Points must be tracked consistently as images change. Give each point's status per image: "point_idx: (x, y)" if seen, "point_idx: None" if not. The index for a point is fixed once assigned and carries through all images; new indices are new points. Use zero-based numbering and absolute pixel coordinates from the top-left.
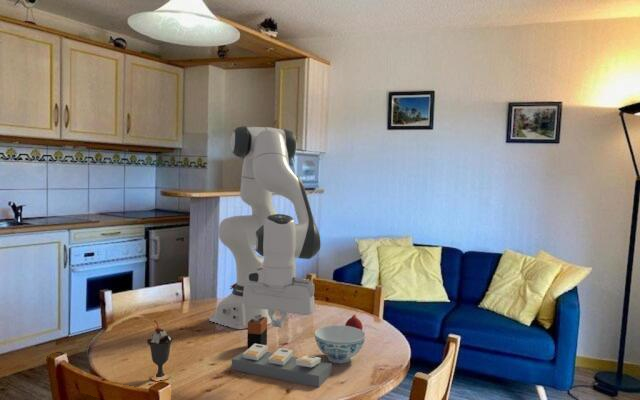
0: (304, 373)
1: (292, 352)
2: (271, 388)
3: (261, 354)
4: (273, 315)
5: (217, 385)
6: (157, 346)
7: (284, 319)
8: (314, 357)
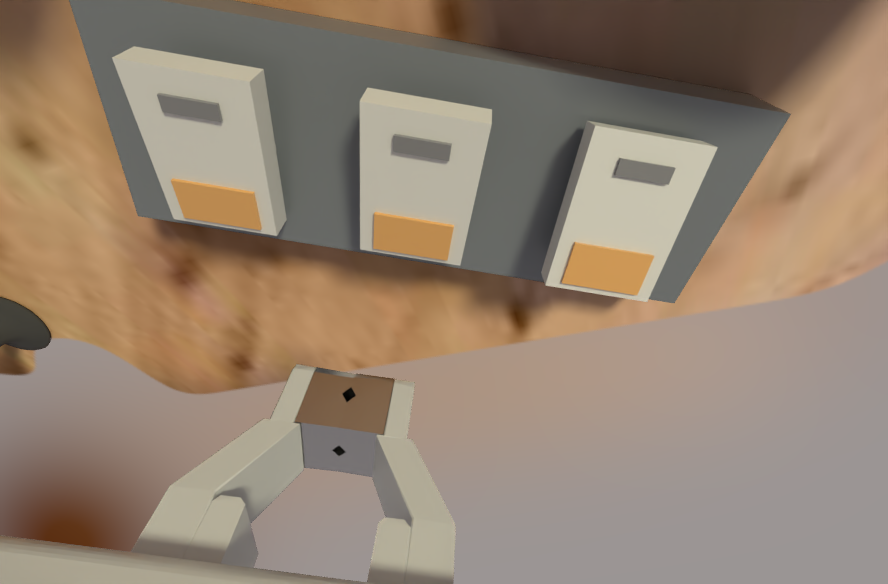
0: None
1: (486, 142)
2: (447, 314)
3: (274, 178)
4: (258, 488)
5: (242, 332)
6: None
7: (415, 457)
8: (668, 182)
